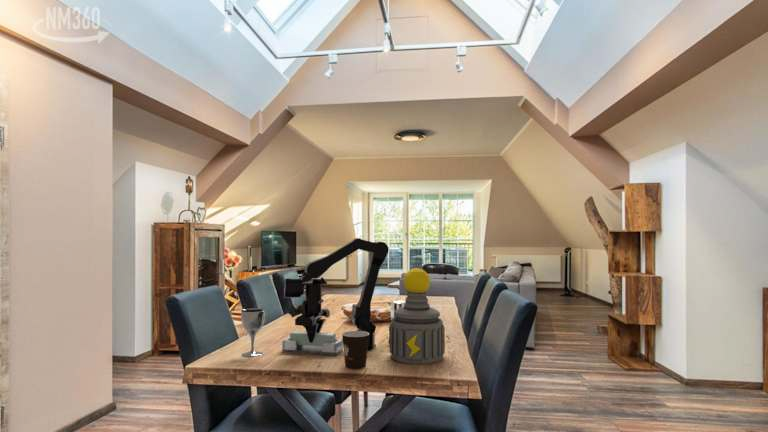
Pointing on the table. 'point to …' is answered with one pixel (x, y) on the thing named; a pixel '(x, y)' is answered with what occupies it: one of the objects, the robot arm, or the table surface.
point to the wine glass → (252, 326)
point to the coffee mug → (355, 349)
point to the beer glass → (396, 306)
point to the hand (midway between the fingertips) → (312, 341)
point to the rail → (318, 339)
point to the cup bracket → (313, 347)
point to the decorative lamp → (416, 325)
